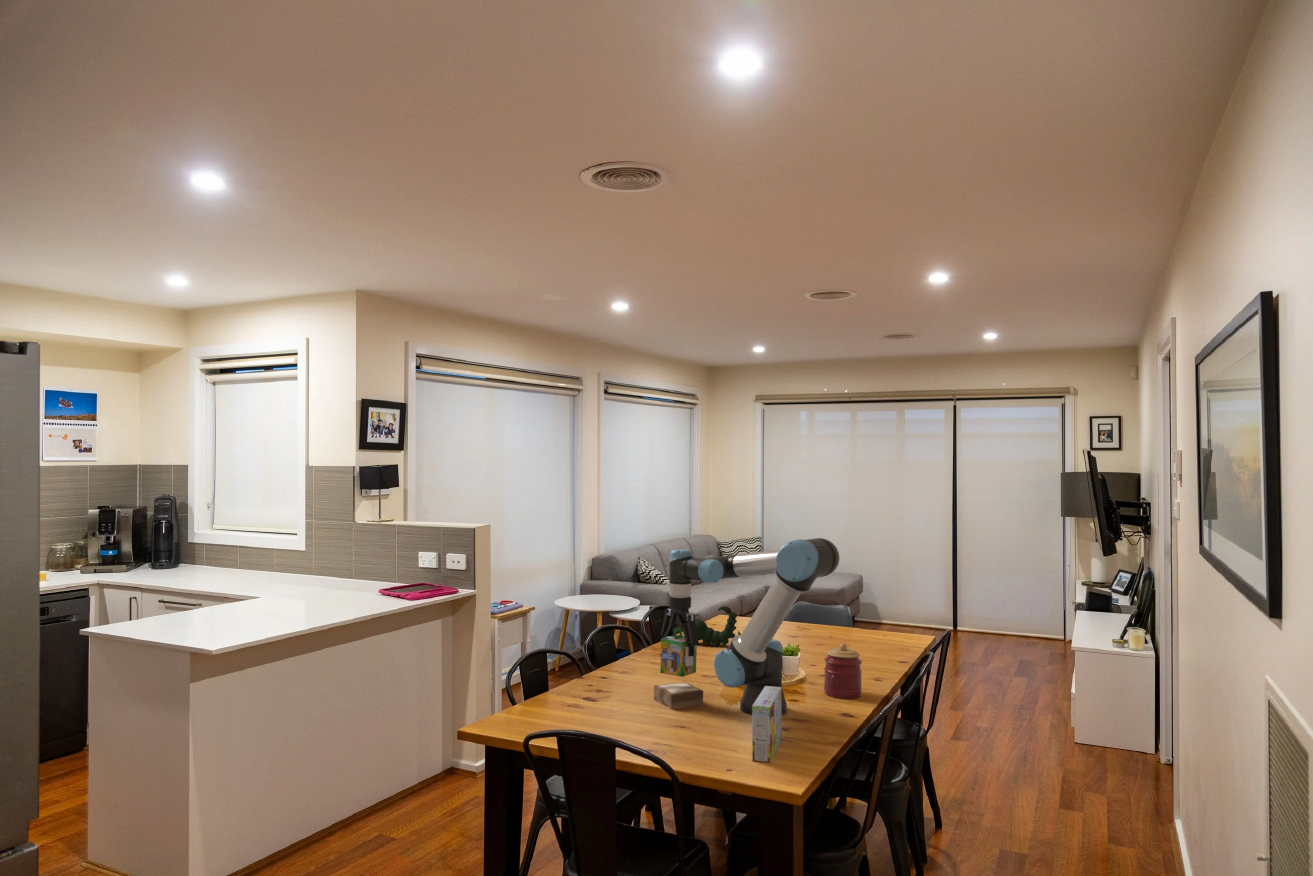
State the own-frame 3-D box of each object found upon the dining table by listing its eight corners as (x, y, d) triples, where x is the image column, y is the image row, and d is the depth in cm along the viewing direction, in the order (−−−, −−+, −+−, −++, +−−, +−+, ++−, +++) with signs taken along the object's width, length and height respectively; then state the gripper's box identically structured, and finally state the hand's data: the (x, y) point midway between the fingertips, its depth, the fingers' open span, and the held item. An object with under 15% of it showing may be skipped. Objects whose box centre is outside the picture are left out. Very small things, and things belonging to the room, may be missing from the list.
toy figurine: (735, 649, 364) (681, 639, 372) (740, 606, 364) (686, 597, 372) (730, 653, 355) (675, 643, 363) (735, 609, 355) (680, 600, 363)
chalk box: (682, 678, 268) (683, 632, 268) (659, 673, 273) (660, 628, 274) (697, 672, 276) (698, 628, 276) (674, 667, 281) (675, 624, 281)
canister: (832, 687, 297) (833, 638, 297) (867, 693, 289) (867, 643, 290) (817, 695, 286) (818, 644, 287) (853, 701, 279) (853, 649, 279)
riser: (702, 706, 272) (703, 690, 272) (671, 710, 266) (671, 694, 266) (684, 696, 282) (685, 681, 282) (653, 700, 277) (654, 685, 277)
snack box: (763, 737, 240) (764, 685, 241) (782, 739, 239) (783, 686, 239) (750, 761, 220) (751, 704, 221) (771, 764, 219) (772, 706, 219)
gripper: (710, 600, 268) (709, 668, 267) (668, 590, 287) (667, 654, 286) (692, 601, 264) (691, 671, 263) (651, 591, 282) (649, 656, 282)
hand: (678, 662), depth 275 cm, fingers closed on chalk box, 10 cm apart
